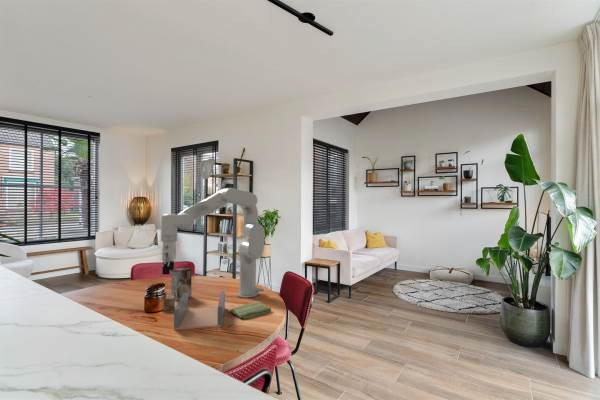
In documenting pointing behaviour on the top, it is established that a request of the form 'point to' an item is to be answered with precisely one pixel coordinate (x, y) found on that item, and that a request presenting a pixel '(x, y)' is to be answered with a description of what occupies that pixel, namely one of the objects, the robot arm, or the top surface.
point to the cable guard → (198, 315)
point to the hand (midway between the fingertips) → (168, 272)
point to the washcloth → (250, 310)
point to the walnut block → (169, 303)
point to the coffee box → (180, 282)
